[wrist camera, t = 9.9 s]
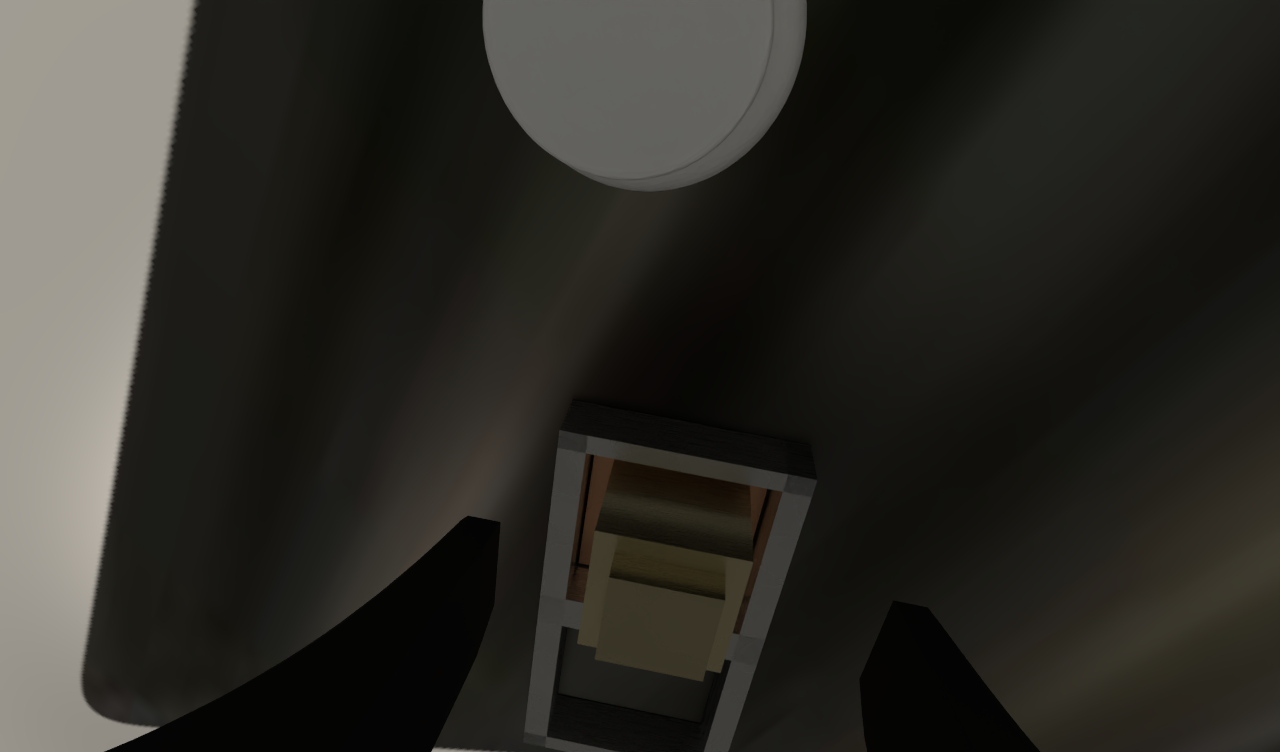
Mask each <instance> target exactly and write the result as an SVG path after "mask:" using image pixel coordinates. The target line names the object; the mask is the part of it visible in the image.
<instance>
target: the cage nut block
mask: <svg viewBox="0 0 1280 752" xmlns="http://www.w3.org/2000/svg"><path fill="white" fill-rule="evenodd" d="M752 565H753V541H752V518H751V496H750V485H746V484H740V483H735V482H730V481H725V480H720V479H715V478H710V477H705V476H699V475H694V474H689V473H684V472H679V471H674V470H669V469H664V468H658V467H653V466H648V465H643V464H638V463H633V462H628V461H623V460H617V459H614V462H613V466H612V470H611V473H610V477H609V481H608V484H607V488H606V492H605V495H604V499H603V503H602V506H601V510H600V513H599V517H598V521H597V524H596V528H595V533H594V539H593V545H592V552H591V558H590V565H589V571H588V578H587V584H586V591H585V597H584V604H583V610H582V617H581V623H580V630H579V636H578V643H577V644H581V645H586V646H591V647H596V648H597V649H596V655H595V659H596V660H600V661H605V662H610V663H615V664H620V665H625V666H630V667H635V668H639V669H644V670H649V671H654V672H659V673H664V674H669V675H673V676H678V677H683V678H688V679H693V680H698V681H703V679H704V675H705V671H706V670H708V671H713V672H718V673H721V670H722V667H723V663H724V660H725V657H726V653H727V650H728V646H729V643H730V640H731V636H732V633H733V630H734V626H735V623H736V619H737V616H738V613H739V609H740V606H741V602H742V599H743V596H744V592H745V589H746V586H747V582H748V579H749V575H750V572H751V569H752Z"/></svg>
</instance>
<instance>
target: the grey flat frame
mask: <svg viewBox="0 0 1280 752" xmlns="http://www.w3.org/2000/svg"><path fill="white" fill-rule="evenodd" d="M592 455H594V461H593V468H592V474H591V481H590V488H589V495H588V502H587V509H586V516H585V522H584V529H583V536H582V543H581V550H580V557H579V561H577V556H578V549H579V542H580V535H581V528H582V521H583V514H584V507H585V500H586V493H587V486H588V479H589V472H590V465H591V458H592ZM614 459H617V460H623V461H628V462H633V463H638V464H643V465H648V466H653V467H658V468H664V469H669V470H674V471H679V472H684V473H689V474H694V475H699V476H705V477H710V478H715V479H720V480H725V481H730V482H735V483H740V484H746V485H750V496H751V518H752V541H753V537H754V534H755V530H756V527H757V524H758V520H759V517H760V513H761V510H762V506H763V503H764V499H765V496H766V493H767V489H769V492H768V495H767V499H766V502H765V505H764V509H763V512H762V516H761V519H760V523H759V526H758V529H757V533H756V536H755V540H754V543H753V565H752V569H751V572H750V575H749V579H748V582H747V586H746V589H745V592H744V596H743V599H742V602H741V606H740V609H739V613H738V616H737V619H736V623H735V626H734V630H733V633H732V636H731V640H730V643H729V646H728V650H727V653H726V657H725V660H724V663H723V667H722V670H721V673H718V672H716V673H715V677H714V680H713V684H712V687H711V690H710V694H709V697H708V701H707V704H706V708H705V711H704V714H703V718H702V721H701V724H698V723H693V722H688V721H683V720H678V719H674V718H669V717H664V716H659V715H654V714H650V713H645V712H640V711H635V710H630V709H626V708H621V707H616V706H611V705H606V704H602V703H597V702H592V701H587V700H582V699H578V698H573V697H568V696H563V695H558V687H559V681H560V674H561V667H562V660H563V653H564V646H565V639H566V632H567V627H570V628H575V629H579V630H580V623H581V617H582V610H583V604H584V597H585V591H586V584H587V578H588V571H589V565H590V558H591V552H592V545H593V539H594V533H595V528H596V524H597V521H598V517H599V513H600V510H601V506H602V503H603V499H604V495H605V492H606V488H607V484H608V481H609V477H610V473H611V470H612V466H613V462H614ZM816 483H817V475H816V470H815V465H814V460H813V455H812V450H811V445H806V444H800V443H795V442H790V441H785V440H780V439H774V438H769V437H764V436H759V435H754V434H748V433H743V432H738V431H733V430H728V429H722V428H717V427H712V426H707V425H702V424H696V423H691V422H686V421H681V420H676V419H670V418H665V417H660V416H655V415H650V414H644V413H639V412H634V411H629V410H624V409H618V408H613V407H608V406H603V405H598V404H592V403H587V402H582V401H577V400H572V403H571V405H570V407H569V410H568V412H567V414H566V416H565V419H564V421H563V423H562V426H561V428H560V430H559V439H558V448H557V456H556V465H555V474H554V482H553V491H552V499H551V508H550V517H549V525H548V534H547V542H546V551H545V560H544V568H543V577H542V585H541V594H540V603H539V611H538V620H537V629H536V637H535V646H534V654H533V663H532V672H531V680H530V689H529V697H528V706H527V715H526V723H525V732H524V740H523V742H524V743H528V744H533V745H538V746H543V747H547V748H552V749H557V750H562V751H566V752H728V751H729V748H730V745H731V742H732V739H733V736H734V733H735V730H736V727H737V723H738V720H739V717H740V714H741V711H742V708H743V705H744V702H745V699H746V696H747V693H748V690H749V687H750V684H751V681H752V678H753V675H754V672H755V669H756V666H757V663H758V660H759V657H760V654H761V650H762V647H763V644H764V641H765V638H766V635H767V632H768V629H769V626H770V623H771V620H772V617H773V614H774V611H775V608H776V605H777V602H778V599H779V596H780V593H781V590H782V587H783V584H784V581H785V577H786V574H787V571H788V568H789V565H790V562H791V559H792V556H793V553H794V550H795V547H796V544H797V541H798V538H799V535H800V532H801V529H802V526H803V523H804V520H805V517H806V514H807V511H808V507H809V504H810V501H811V498H812V495H813V492H814V489H815V486H816Z"/></svg>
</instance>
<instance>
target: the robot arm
mask: <svg viewBox="0 0 1280 752" xmlns="http://www.w3.org/2000/svg"><path fill="white" fill-rule="evenodd" d="M499 534H500V522H497V521H492V520H487V519H482V518H477V517H472V516H467V517H465V518H464V519H462V520H461V521H460V522H459V523H458V524H457V525H456V526H455V527H454V528H453V529H452V530H450V531H449V532H448V533H447V534H446V535H445V536H444V537H443V538H442V539H441V540H440V541H439V542H438V543H437V544H436V545H435V546H433V547H432V548H431V549H430V550H429V551H428V552H427V553H426V554H425V555H423V556H422V557H421V558H420V559H419V560H418V561H417V562H416V563H415V564H413V565H412V566H411V567H410V568H409V569H407V570H406V571H405V572H404V573H403V574H402V575H400V576H399V577H398V578H397V579H396V580H394V581H393V582H392V583H391V584H390V585H389V586H387V587H386V588H385V589H384V590H382V591H381V592H380V593H379V594H377V595H376V596H375V597H374V598H372V599H371V600H370V601H368V602H367V603H366V604H364V605H363V606H362V607H360V608H359V609H358V610H357V611H355V612H354V613H353V614H351V615H350V616H349V617H347V618H346V619H345V620H343V621H342V622H341V623H339V624H338V625H336V626H335V627H334V628H332V629H331V630H329V631H328V632H327V633H325V634H324V635H322V636H321V637H319V638H318V639H316V640H315V641H313V642H312V643H310V644H309V645H307V646H306V647H304V648H303V649H301V650H300V651H298V652H297V653H295V654H293V655H292V656H290V657H289V658H287V659H286V660H284V661H282V662H281V663H279V664H277V665H276V666H274V667H272V668H271V669H269V670H267V671H265V672H264V673H262V674H260V675H259V676H257V677H255V678H254V679H252V680H250V681H249V682H247V683H245V684H243V685H242V686H240V687H238V688H236V689H234V690H233V691H231V692H229V693H227V694H225V695H223V696H222V697H220V698H218V699H216V700H214V701H212V702H210V703H208V704H206V705H204V706H202V707H200V708H198V709H196V710H194V711H192V712H190V713H188V714H186V715H184V716H182V717H180V718H178V719H176V720H174V721H172V722H170V723H168V724H166V725H164V726H162V727H160V728H158V729H156V730H153V731H151V732H149V733H147V734H145V735H143V736H140V737H138V738H136V739H134V740H131V741H129V742H127V743H124V744H122V745H119V746H117V747H115V748H112V749H110V750H107V751H105V752H431V751H432V749H433V747H434V745H435V743H436V741H437V739H438V737H439V735H440V733H441V730H442V728H443V726H444V724H445V722H446V720H447V718H448V716H449V714H450V712H451V709H452V707H453V705H454V703H455V701H456V699H457V697H458V695H459V693H460V690H461V688H462V686H463V684H464V682H465V680H466V678H467V676H468V673H469V671H470V669H471V667H472V665H473V663H474V661H475V658H476V656H477V653H478V650H479V648H480V645H481V642H482V639H483V636H484V633H485V630H486V627H487V624H488V622H489V619H490V616H491V613H492V610H493V607H494V600H495V587H496V574H497V561H498V548H499ZM860 692H861V706H862V717H863V727H864V737H865V742H866V747H867V752H1040V751H1039V750H1038V749H1037V748H1036V746H1035V745H1034V744H1033V743H1032V742H1031V741H1030V739H1029V738H1028V737H1027V736H1026V735H1025V733H1024V732H1023V731H1022V730H1021V728H1020V727H1019V726H1018V725H1017V724H1016V722H1015V721H1014V720H1013V719H1012V717H1011V716H1010V715H1009V714H1008V712H1007V711H1006V710H1005V709H1004V707H1003V706H1002V705H1001V703H1000V702H999V701H998V700H997V698H996V697H995V696H994V695H993V693H992V692H991V691H990V689H989V688H988V687H987V685H986V684H985V683H984V682H983V680H982V679H981V678H980V676H979V675H978V674H977V672H976V671H975V670H974V668H973V667H972V666H971V664H970V663H969V662H968V660H967V659H966V658H965V656H964V655H963V654H962V652H961V651H960V650H959V648H958V647H957V646H956V644H955V643H954V642H953V640H952V639H951V638H950V636H949V635H948V634H947V632H946V631H945V630H944V628H943V627H942V626H941V624H940V623H939V622H938V620H937V619H936V618H935V616H934V615H933V614H932V612H931V611H930V610H929V609H928V607H923V606H918V605H913V604H908V603H903V602H898V601H893V603H892V605H891V607H890V610H889V612H888V614H887V617H886V619H885V621H884V624H883V626H882V628H881V631H880V633H879V635H878V638H877V640H876V642H875V644H874V647H873V649H872V651H871V654H870V656H869V658H868V661H867V663H866V665H865V668H864V670H863V672H862V675H861V677H860Z"/></svg>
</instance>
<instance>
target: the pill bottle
mask: <svg viewBox="0 0 1280 752" xmlns="http://www.w3.org/2000/svg"><path fill="white" fill-rule="evenodd" d="M806 23H807V2H806V0H483V33H484V40H485V48H486V52H487V57H488V61H489V64H490V67H491V71H492V74H493V77H494V80H495V83H496V85H497V87H498V89H499V91H500V94H501V96H502V98H503V100H504V102H505V104H506V105H507V107H508V108H509V110H510V112H511V113H512V115H513V116H514V118H515V119H516V120H517V122H518V123H519V124H520V125H521V127H522V128H523V129H524V130H525V132H526V133H527V134H528V135H529V136H530V137H531V138H532V139H533V140H534V141H535V142H536V143H537V144H538V145H539V146H540V147H542V148H543V149H544V150H545V151H547V152H548V153H549V154H551V155H552V156H554V157H555V158H557V159H558V160H560V161H561V162H563V163H565V164H567V165H568V166H569V167H571V168H572V169H574V170H576V171H577V172H579V173H581V174H583V175H585V176H587V177H588V178H590V179H593V180H595V181H598V182H600V183H603V184H606V185H609V186H612V187H616V188H621V189H626V190H632V191H646V192H653V191H664V190H672V189H677V188H681V187H685V186H689V185H692V184H695V183H698V182H700V181H703V180H705V179H708V178H710V177H712V176H714V175H716V174H718V173H719V172H721V171H723V170H724V169H726V168H728V167H729V166H730V165H732V164H733V163H735V162H736V161H737V160H739V159H740V158H741V157H742V156H744V155H745V154H746V153H747V152H748V151H749V150H750V149H751V148H752V147H753V146H754V145H755V144H756V143H757V142H758V141H759V140H760V139H761V138H762V137H763V136H764V134H765V133H766V132H767V130H768V129H769V128H770V126H771V125H772V123H773V122H774V121H775V119H776V118H777V116H778V114H779V113H780V111H781V109H782V107H783V106H784V104H785V102H786V100H787V98H788V96H789V94H790V92H791V90H792V87H793V84H794V82H795V79H796V76H797V73H798V70H799V66H800V63H801V59H802V54H803V49H804V43H805V35H806Z"/></svg>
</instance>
